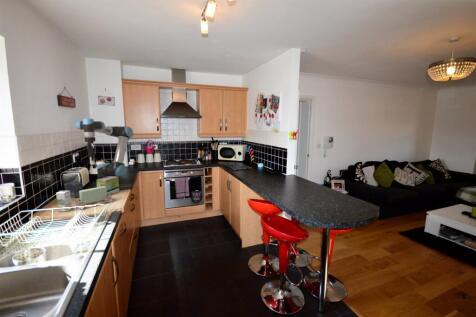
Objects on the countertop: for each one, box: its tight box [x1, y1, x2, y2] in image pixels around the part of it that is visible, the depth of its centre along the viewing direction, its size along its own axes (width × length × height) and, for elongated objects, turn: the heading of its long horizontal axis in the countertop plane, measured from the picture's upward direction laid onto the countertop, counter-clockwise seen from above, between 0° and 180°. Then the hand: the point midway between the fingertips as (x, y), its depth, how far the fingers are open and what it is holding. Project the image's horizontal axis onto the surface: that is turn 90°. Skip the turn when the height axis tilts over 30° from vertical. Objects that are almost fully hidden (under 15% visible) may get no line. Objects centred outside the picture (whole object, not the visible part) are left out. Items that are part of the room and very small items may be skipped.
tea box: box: [96, 176, 120, 196], centre depth 194 cm, size 15×10×15 cm
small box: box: [63, 181, 84, 199], centre depth 186 cm, size 13×7×12 cm, turn 72°
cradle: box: [74, 193, 113, 211], centre depth 168 cm, size 22×12×6 cm, turn 142°
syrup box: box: [55, 190, 73, 213], centre depth 155 cm, size 6×6×14 cm
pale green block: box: [79, 186, 107, 204], centre depth 168 cm, size 17×5×10 cm, turn 141°
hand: (92, 164), depth 184 cm, fingers closed
